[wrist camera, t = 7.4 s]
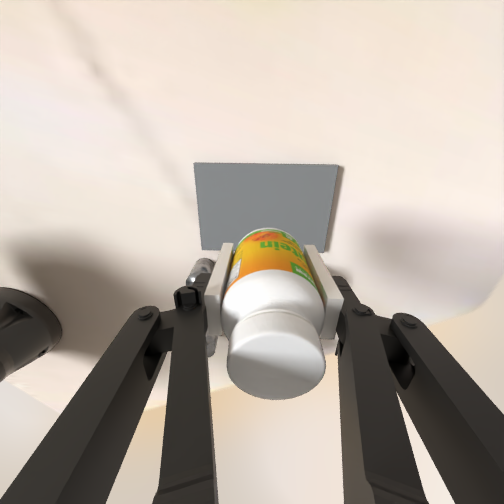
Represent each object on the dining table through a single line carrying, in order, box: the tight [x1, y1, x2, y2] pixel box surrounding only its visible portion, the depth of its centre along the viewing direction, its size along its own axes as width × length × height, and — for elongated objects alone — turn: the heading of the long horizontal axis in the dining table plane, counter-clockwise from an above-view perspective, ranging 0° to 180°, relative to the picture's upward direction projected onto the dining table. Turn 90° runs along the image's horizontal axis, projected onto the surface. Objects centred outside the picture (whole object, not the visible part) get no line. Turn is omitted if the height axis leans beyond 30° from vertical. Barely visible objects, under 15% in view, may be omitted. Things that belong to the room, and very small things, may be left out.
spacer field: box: [186, 258, 218, 357], centre depth 36 cm, size 19×18×5 cm
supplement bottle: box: [221, 228, 326, 400], centre depth 13 cm, size 5×5×10 cm
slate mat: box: [194, 163, 339, 253], centre depth 30 cm, size 18×12×1 cm, turn 89°
